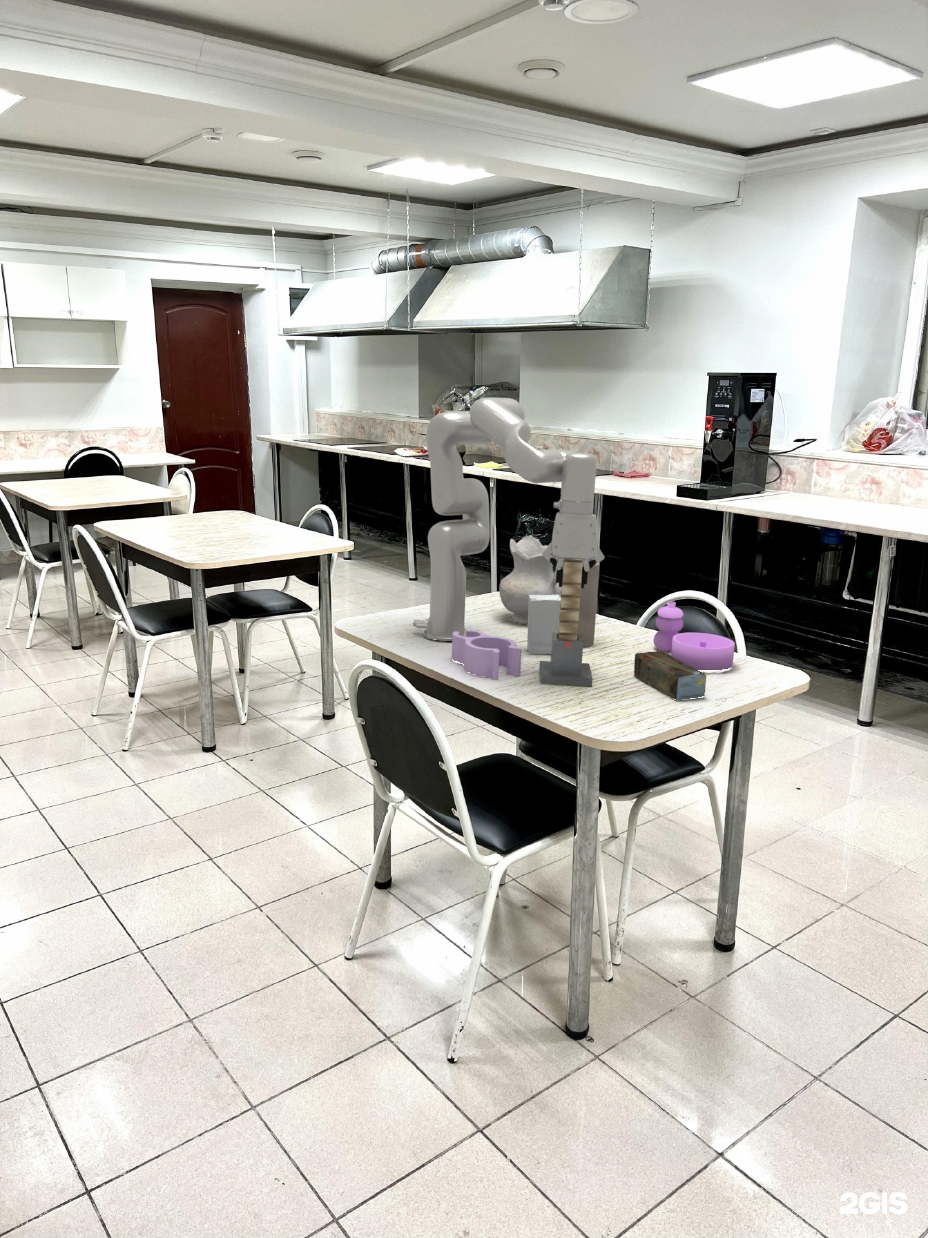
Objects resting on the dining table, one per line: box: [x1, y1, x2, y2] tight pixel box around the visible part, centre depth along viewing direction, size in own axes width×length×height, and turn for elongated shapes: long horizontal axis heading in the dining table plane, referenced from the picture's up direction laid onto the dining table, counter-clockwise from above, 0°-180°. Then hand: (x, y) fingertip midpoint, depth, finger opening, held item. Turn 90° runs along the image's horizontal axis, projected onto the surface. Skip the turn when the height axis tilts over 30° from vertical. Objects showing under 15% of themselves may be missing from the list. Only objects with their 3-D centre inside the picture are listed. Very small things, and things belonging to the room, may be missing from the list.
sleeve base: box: [538, 632, 594, 688], centre depth 216 cm, size 12×12×10 cm
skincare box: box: [526, 595, 561, 655], centre depth 236 cm, size 8×6×15 cm
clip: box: [451, 629, 522, 681], centre depth 222 cm, size 20×12×7 cm, turn 35°
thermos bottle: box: [578, 554, 601, 648], centre depth 243 cm, size 8×8×28 cm
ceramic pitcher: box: [498, 535, 563, 625], centre depth 266 cm, size 22×20×25 cm
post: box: [558, 558, 582, 640], centre depth 213 cm, size 4×4×24 cm
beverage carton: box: [633, 650, 707, 701], centre depth 212 cm, size 8×19×7 cm, turn 20°
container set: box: [653, 601, 736, 670], centre depth 235 cm, size 25×15×13 cm, turn 27°
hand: (571, 585), depth 212 cm, fingers closed on post, 4 cm apart
